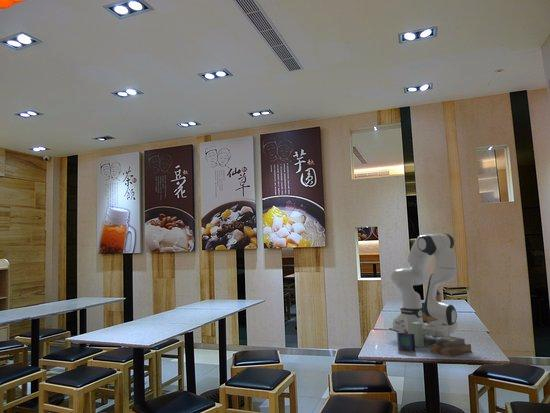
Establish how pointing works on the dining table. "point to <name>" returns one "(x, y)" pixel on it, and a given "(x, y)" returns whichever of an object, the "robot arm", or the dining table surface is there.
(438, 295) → the toy building blocks
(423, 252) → the robot arm
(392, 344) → the dining table surface
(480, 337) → the dining table surface
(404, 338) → the flask
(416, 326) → the sage column
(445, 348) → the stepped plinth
